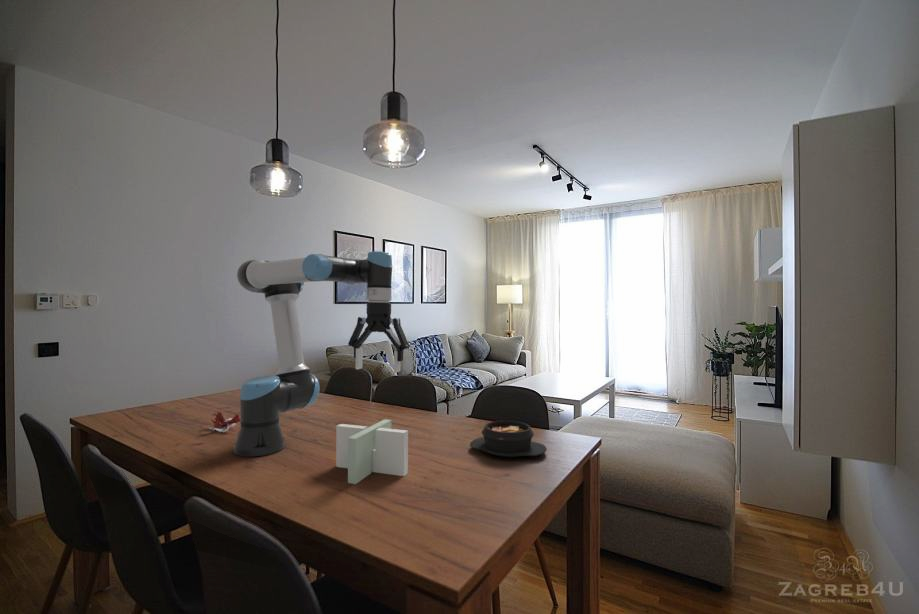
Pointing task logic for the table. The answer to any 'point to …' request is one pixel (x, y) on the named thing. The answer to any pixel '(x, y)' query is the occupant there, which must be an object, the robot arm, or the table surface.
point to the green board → (362, 451)
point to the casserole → (508, 440)
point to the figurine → (224, 422)
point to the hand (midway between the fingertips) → (377, 370)
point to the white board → (377, 449)
